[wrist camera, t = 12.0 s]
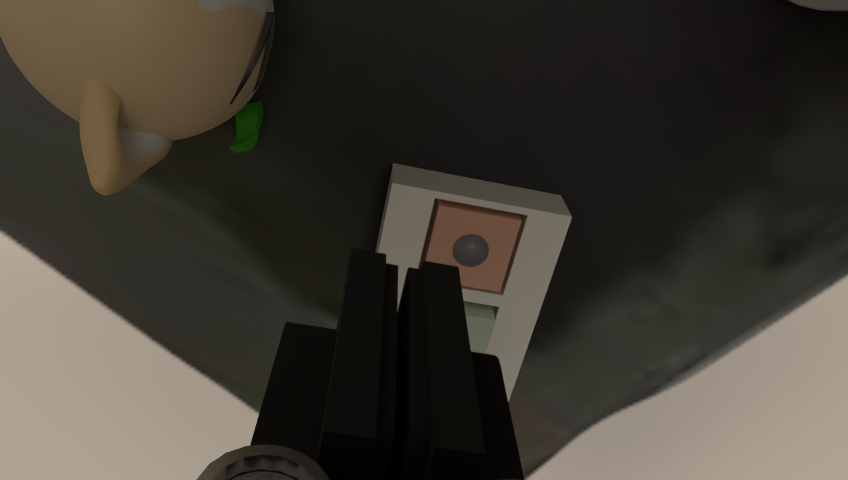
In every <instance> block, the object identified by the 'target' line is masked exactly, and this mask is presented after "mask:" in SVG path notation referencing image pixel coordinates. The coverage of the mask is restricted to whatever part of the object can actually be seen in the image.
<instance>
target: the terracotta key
mask: <svg viewBox="0 0 848 480" xmlns="http://www.w3.org/2000/svg"><path fill="white" fill-rule="evenodd" d="M521 222H522V220H521V218H520V215H519V214H518V213H512V212H507V211H502V210H496V209H491V208H486V207H480V206H475V205H470V204H464V203H459V202H453V201H448V200H443V199H437V198H435V200H434V205H433V209H432V213H431V217H430V221H429V226H428V230H427V234H426V238H425V242H424V247H423V251H422V255H421V265H422V262H423V261H429V262H435V263H440V264H446V265H452V266H457V267H458V268H459V273H460V280H461V285H462V286H468V287H474V288H479V289H485V290H491V291H497V292H500V290H501V287H502V284H503V280H504V277H505V274H506V271H507V267H508V264H509V261H510V257H511V254H512V251H513V248H514V244H515V241H516V238H517V235H518V231H519V228H520V225H521Z"/></svg>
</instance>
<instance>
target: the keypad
mask: <svg viewBox="0 0 848 480" xmlns="http://www.w3.org/2000/svg"><path fill="white" fill-rule="evenodd" d="M435 198H437V199H443V200H448V201H453V202H459V203H464V204H470V205H475V206H480V207H486V208H491V209H496V210H502V211H507V212H512V213H518V214H519V215H520V218H521V220H522V222H521V225H520V228H519V231H518V235H517V238H516V241H515V244H514V248H513V251H512V254H511V257H510V261H509V264H508V267H507V271H506V274H505V277H504V280H503V284H502V287H501V290H500V292H497V291H491V290H485V289H479V288H474V287H468V286H462V285H461V287H462V294H463V301H467V302H473V303H479V304H485V305H491V306H492V307H493V311H494V316H495V323H494V326H493V329H492V332H491V336H490V339H489V342H488V345H487V348H486V352H485V354H490V355H495V356H497V357H498V359H499V362H500V365H501V370H502V375H503V379H504V384H505V389H506V394H507V399H508V402H509V399H510V396H511V393H512V391H513V388H514V385H515V382H516V379H517V376H518V373H519V370H520V367H521V364H522V361H523V358H524V356H525V353H526V350H527V347H528V344H529V341H530V338H531V335H532V332H533V329H534V326H535V323H536V321H537V318H538V315H539V312H540V309H541V306H542V303H543V300H544V297H545V294H546V291H547V289H548V286H549V283H550V280H551V277H552V274H553V271H554V268H555V265H556V262H557V259H558V256H559V254H560V251H561V248H562V245H563V242H564V239H565V236H566V233H567V230H568V227H569V224H570V221H571V219H572V216H571V214H570V212H569V210H568V208H567V206H566V204H565V203H564V201H563V199H562V197H561V195H556V194H551V193H546V192H541V191H535V190H530V189H525V188H520V187H515V186H509V185H504V184H499V183H494V182H488V181H483V180H478V179H473V178H468V177H462V176H457V175H452V174H447V173H442V172H436V171H431V170H426V169H421V168H415V167H410V166H405V165H400V164H395V163H393V167H392V172H391V176H390V181H389V186H388V191H387V196H386V201H385V206H384V211H383V216H382V221H381V226H380V231H379V236H378V240H377V245H376V250H375V252H378V253H384V254H386V263H388V264H393V265H398V307H399V303H400V299H401V294H402V290H403V286H404V281H405V277H406V273H407V270H408V268H409V267H411V268H416V269H420V267H421V255H422V251H423V247H424V242H425V238H426V234H427V230H428V226H429V221H430V217H431V213H432V209H433V205H434V200H435ZM397 312H398V310H397Z"/></svg>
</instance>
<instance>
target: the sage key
mask: <svg viewBox="0 0 848 480" xmlns="http://www.w3.org/2000/svg"><path fill="white" fill-rule="evenodd" d="M464 307H465V314H466V321H467V328H468V335H469V342H470V349H471V351H472V352H478V353H484V354H485V352H486V348H487V345H488V342H489V339H490V336H491V332H492V329H493V326H494V323H495V316H494V311H493V307H492V306H491V305H485V304H479V303H473V302H467V301H464Z"/></svg>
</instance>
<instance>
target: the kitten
mask: <svg viewBox="0 0 848 480" xmlns="http://www.w3.org/2000/svg"><path fill="white" fill-rule="evenodd" d="M274 28H275V13H274V6H273V0H0V37H1V39H2V41H3V43H4V45H5V47H6V49H7V51H8V53H9V54H10V56H11V58H12V59H13V61H14V62H15V64H16V65H17V67H18V68H19V70H20V71H21V72H22V74H23V75H24V76H25V77H26V78H27V80H28V81H29V82H30V83H31V84H32V85H33V86H34V88H35V89H36V90H37V91H38V92H39V93H40V94H41V95H43V96H44V97H45V98H46V99H47V100H48V101H49V102H50V103H52V104H53V105H54V106H55V107H57V108H58V109H59V110H61V111H62V112H64V113H65V114H66V115H68V116H70V117H71V118H73V119H74V120H76V121H78V122H80V139H81V146H82V151H83V155H84V159H85V163H86V167H87V171H88V175H89V178H90V182H91V184H92V186H93V188H94V189H95V191H97V192H98V193H100V194H102V195H110V194H113V193H116V192H118V191H119V190H121V189H123V188H124V187H126V186H128V185H129V184H131V183H132V182H133V181H134V180H135V179H137V178H138V177H139V176H140V175H142V174H143V173H144V172H145V171H146V170H148V169H149V168H150V167H152V166H153V165H155V164H157V163H158V162H159V161H161V160H162V159H163V158H164V157H165V156H166V155H167V153H168V152H169V150H170V148H171V146H172V143H173V141H174V140H179V139H184V138H188V137H191V136H195V135H198V134H200V133H203V132H206V131H208V130H210V129H212V128H214V127H216V126H218V125H220V124H222V123H224V122H225V121H227V120H228V119H230V118H231V117H233V116H234V115H235V117H236V130H237V137H236V141H235V142H234V143H233V144H231V145H230V146H229V147H230V148H231V150H232V151H233V152H234V153H240V152H245V151H248V150H251V149H253V148H254V146H255V144H256V142H257V139H258V135H259V130H260V126H261V122H262V119H263V117H264V110H263V103H262V100H260V101H255V102H252V103H248V104H247V102H248V101H249V100H250V99H251V97H252V96H253V94H254V93H255V91H256V90H257V88H258V86H259V84H260V82H261V80H262V78H263V75H264V73H265V70H266V67H267V64H268V61H269V57H270V53H271V49H272V45H273V39H274Z"/></svg>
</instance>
